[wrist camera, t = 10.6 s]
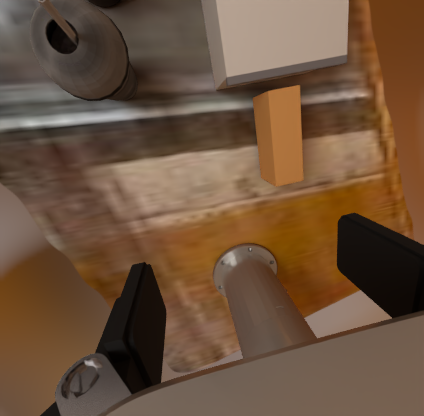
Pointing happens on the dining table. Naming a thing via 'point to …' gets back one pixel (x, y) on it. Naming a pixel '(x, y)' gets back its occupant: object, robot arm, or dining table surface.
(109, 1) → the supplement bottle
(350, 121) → the dining table surface
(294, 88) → the orange rectangular block
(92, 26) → the beverage cup
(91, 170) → the dining table surface
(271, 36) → the beige rectangular block
